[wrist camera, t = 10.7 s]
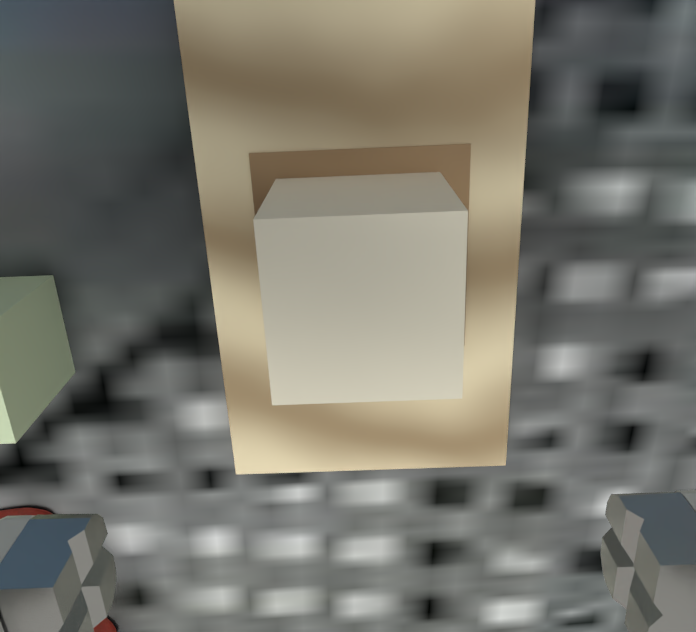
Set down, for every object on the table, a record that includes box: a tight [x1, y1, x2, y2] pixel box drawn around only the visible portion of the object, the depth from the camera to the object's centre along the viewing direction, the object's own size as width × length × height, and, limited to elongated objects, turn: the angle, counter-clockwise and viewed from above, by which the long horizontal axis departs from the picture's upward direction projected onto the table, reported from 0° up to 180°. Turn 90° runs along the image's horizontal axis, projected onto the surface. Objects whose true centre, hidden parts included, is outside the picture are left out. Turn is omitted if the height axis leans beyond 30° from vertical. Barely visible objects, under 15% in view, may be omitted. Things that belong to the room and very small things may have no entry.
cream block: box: [253, 172, 468, 405], centre depth 22 cm, size 6×6×6 cm
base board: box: [174, 0, 535, 474], centre depth 25 cm, size 20×12×1 cm, turn 2°
